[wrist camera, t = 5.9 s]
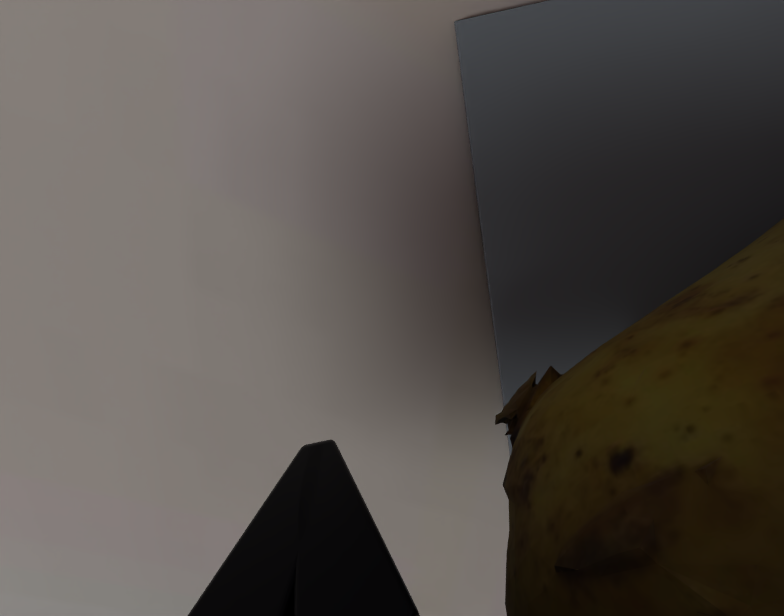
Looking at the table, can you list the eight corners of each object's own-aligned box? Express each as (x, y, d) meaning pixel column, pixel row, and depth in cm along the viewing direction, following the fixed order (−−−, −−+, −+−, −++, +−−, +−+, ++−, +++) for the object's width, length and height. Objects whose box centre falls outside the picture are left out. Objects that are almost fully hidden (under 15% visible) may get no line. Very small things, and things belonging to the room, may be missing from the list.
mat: (741, 484, 13) (747, 490, 12) (519, 526, 13) (521, 533, 13) (809, -58, 8) (819, -60, 8) (454, 22, 8) (456, 20, 8)
